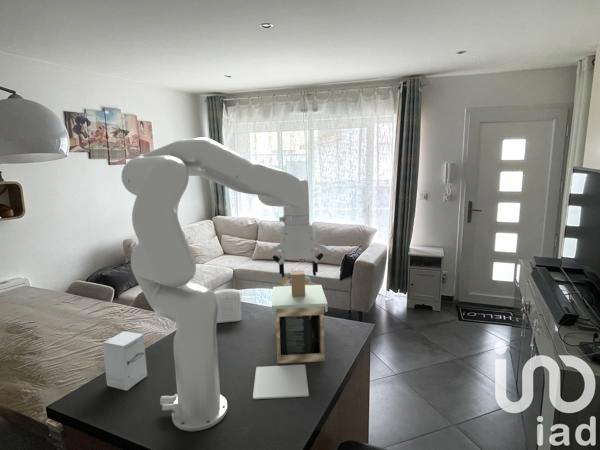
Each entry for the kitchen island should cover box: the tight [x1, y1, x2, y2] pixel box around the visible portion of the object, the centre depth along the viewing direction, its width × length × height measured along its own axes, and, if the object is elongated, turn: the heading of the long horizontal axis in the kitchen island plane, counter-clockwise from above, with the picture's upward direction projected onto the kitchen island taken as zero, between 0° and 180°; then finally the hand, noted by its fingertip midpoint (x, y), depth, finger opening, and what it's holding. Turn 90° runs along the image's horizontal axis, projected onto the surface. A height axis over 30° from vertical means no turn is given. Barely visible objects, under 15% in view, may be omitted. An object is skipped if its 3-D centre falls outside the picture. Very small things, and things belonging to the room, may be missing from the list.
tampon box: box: [281, 315, 317, 355], centre depth 112 cm, size 11×9×15 cm
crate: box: [275, 307, 326, 364], centre depth 112 cm, size 14×16×17 cm
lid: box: [271, 270, 329, 315], centre depth 110 cm, size 16×17×10 cm
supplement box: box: [102, 331, 148, 391], centre depth 97 cm, size 7×7×13 cm
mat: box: [252, 364, 310, 400], centre depth 96 cm, size 14×14×1 cm
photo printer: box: [213, 288, 242, 324], centre depth 135 cm, size 10×4×12 cm, turn 102°
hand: (298, 275), depth 110 cm, fingers open, 9 cm apart
